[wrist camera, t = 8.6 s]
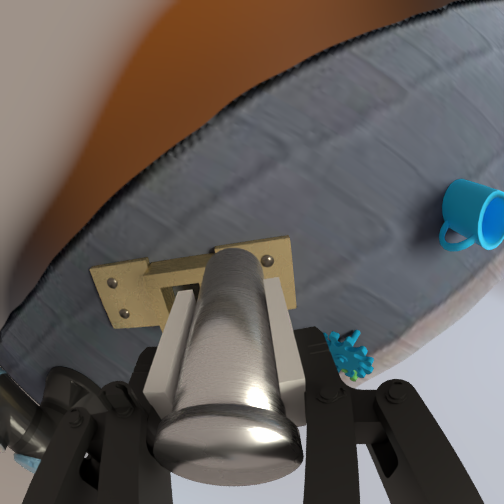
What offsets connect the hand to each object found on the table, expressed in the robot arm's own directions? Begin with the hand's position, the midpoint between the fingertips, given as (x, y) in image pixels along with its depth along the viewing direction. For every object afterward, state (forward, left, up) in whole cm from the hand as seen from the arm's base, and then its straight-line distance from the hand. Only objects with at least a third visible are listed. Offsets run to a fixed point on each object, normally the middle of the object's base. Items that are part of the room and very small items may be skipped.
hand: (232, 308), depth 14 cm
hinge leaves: (-8, -9, -20) cm, 24 cm away
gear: (+10, -23, -22) cm, 33 cm away
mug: (+32, -4, -21) cm, 38 cm away
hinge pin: (0, 0, -4) cm, 4 cm away
